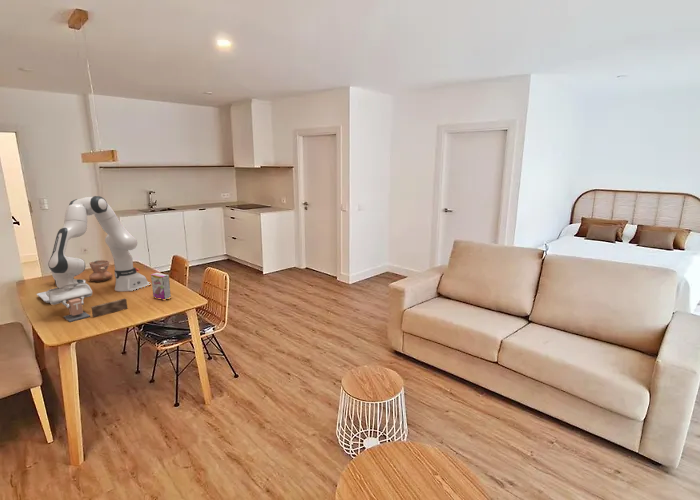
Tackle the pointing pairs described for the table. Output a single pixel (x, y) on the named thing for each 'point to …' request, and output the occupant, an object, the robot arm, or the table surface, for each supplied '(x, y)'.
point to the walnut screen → (109, 307)
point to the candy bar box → (160, 285)
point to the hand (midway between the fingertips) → (75, 306)
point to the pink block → (75, 306)
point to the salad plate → (44, 296)
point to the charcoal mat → (76, 317)
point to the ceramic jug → (100, 271)
